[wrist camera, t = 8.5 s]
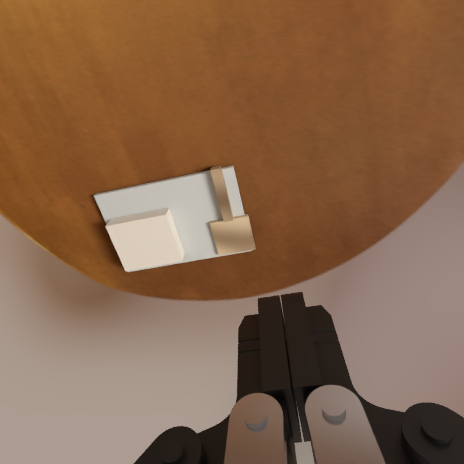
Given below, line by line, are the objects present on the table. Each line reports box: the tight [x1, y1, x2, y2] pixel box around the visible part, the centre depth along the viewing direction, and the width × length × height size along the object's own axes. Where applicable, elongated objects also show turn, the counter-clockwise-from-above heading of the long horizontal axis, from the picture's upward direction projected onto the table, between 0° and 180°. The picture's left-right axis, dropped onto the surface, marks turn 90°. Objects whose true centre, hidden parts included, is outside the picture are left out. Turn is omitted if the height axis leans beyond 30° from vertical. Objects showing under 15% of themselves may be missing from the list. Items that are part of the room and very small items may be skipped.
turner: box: [210, 165, 255, 255], centre depth 44 cm, size 12×5×1 cm, turn 13°
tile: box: [105, 208, 185, 271], centre depth 46 cm, size 7×2×8 cm
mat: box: [94, 165, 252, 272], centre depth 46 cm, size 12×18×1 cm, turn 103°
